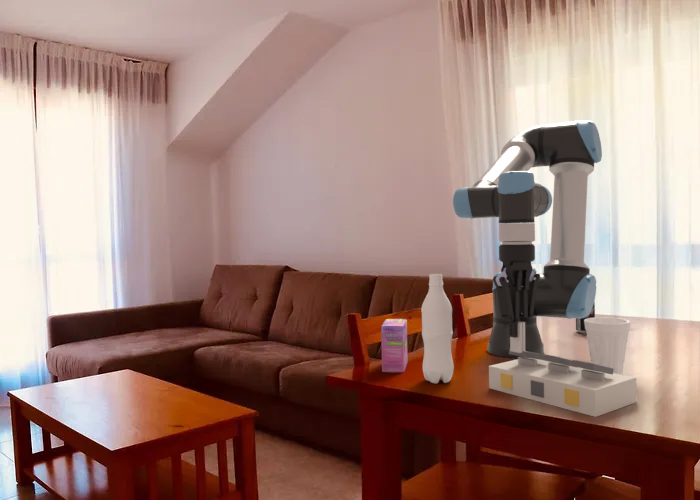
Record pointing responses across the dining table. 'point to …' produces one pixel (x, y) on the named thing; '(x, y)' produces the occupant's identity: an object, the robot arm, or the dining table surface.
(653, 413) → the dining table surface
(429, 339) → the water bottle
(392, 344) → the box
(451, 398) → the dining table surface
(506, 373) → the console
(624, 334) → the cup
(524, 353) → the switch
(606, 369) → the switch
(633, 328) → the dining table surface
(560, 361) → the switch
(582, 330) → the beverage can
